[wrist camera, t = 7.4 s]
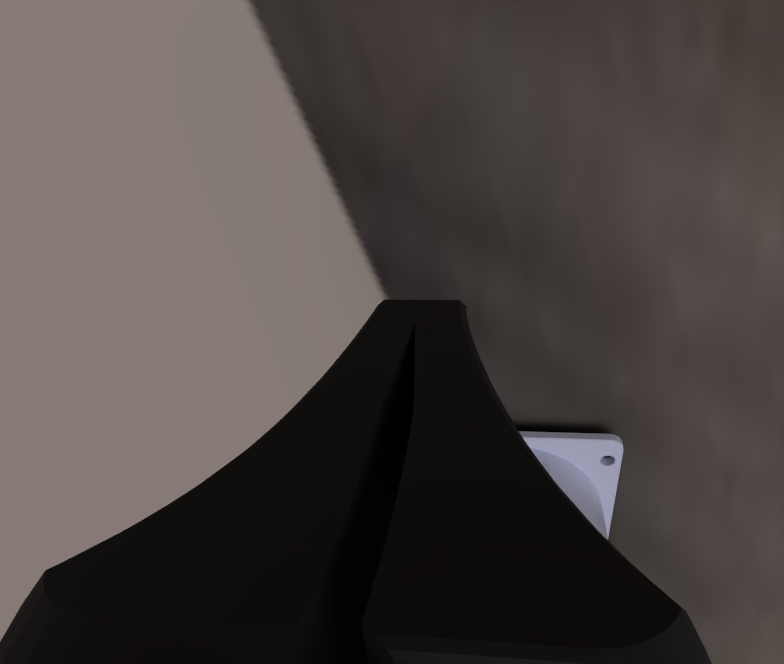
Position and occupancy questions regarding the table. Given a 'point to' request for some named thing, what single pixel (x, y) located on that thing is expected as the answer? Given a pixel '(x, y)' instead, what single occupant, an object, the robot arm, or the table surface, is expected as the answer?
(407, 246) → the table surface
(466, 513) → the robot arm
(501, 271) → the table surface
